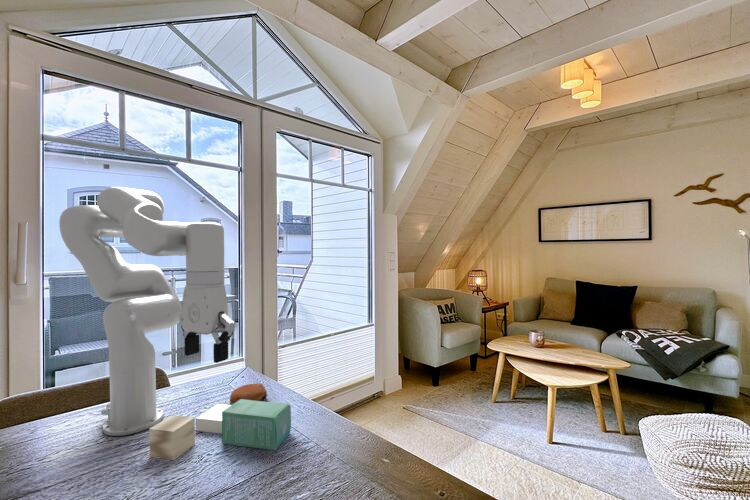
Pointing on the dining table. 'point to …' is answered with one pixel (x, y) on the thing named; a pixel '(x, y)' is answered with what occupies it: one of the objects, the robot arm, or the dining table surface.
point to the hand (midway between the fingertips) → (206, 357)
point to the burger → (249, 393)
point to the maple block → (172, 437)
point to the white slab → (211, 419)
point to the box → (256, 424)
